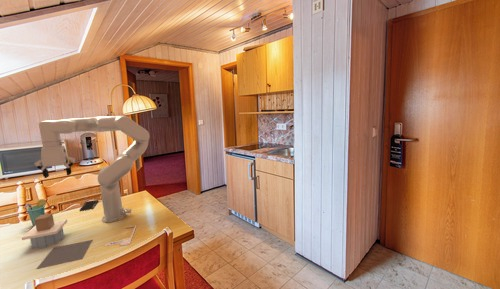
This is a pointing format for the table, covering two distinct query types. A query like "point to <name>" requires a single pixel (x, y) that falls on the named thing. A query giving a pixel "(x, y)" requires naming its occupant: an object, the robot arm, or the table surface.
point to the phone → (89, 205)
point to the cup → (36, 210)
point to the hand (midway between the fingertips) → (58, 176)
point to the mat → (65, 254)
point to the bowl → (47, 240)
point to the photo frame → (123, 240)
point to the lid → (44, 227)
